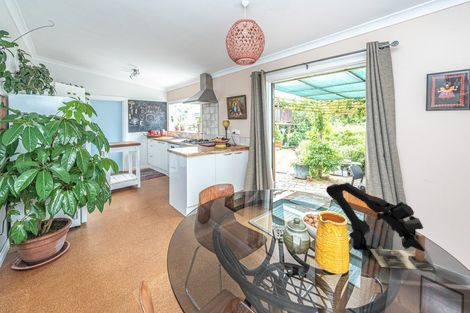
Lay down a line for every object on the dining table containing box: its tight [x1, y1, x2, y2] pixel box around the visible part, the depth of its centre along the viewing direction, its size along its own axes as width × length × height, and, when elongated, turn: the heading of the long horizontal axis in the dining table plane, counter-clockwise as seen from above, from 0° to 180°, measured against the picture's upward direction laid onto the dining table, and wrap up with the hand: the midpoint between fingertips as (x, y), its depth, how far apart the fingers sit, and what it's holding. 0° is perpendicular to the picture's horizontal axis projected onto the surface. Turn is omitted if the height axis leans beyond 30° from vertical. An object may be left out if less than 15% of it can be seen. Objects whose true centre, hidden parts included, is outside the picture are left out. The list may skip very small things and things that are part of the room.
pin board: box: [369, 248, 434, 271], centre depth 104 cm, size 21×14×3 cm
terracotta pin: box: [414, 233, 426, 261], centre depth 98 cm, size 4×4×12 cm
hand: (423, 248), depth 97 cm, fingers closed on terracotta pin, 3 cm apart
